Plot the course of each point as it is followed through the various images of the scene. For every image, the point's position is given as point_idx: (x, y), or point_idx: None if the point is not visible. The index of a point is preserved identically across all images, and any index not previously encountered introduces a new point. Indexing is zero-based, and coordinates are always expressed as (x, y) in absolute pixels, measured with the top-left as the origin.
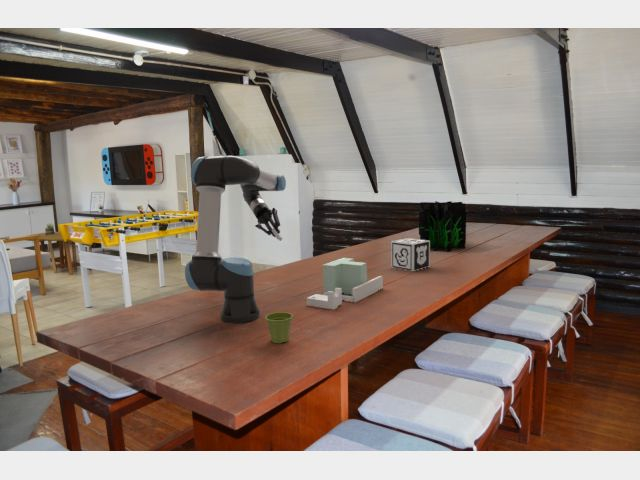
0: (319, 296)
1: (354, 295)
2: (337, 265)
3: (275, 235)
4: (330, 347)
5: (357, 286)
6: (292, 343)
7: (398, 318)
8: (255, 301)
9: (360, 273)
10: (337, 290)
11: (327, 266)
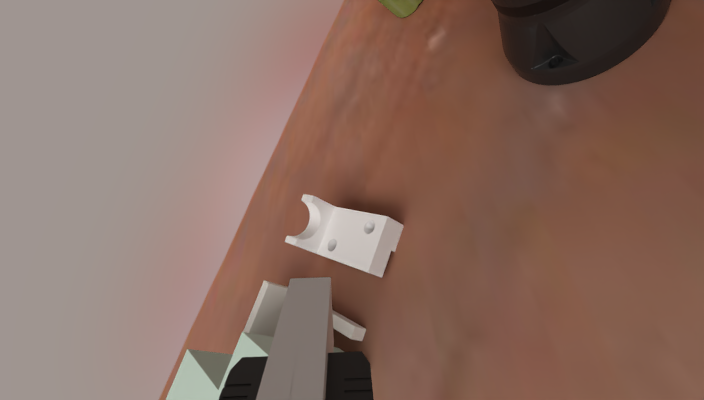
0: (355, 244)
1: (282, 285)
2: (233, 359)
3: (320, 306)
4: (339, 40)
5: (257, 309)
6: (389, 10)
7: (253, 203)
8: (500, 24)
9: (215, 353)
10: (297, 238)
11: (262, 346)
